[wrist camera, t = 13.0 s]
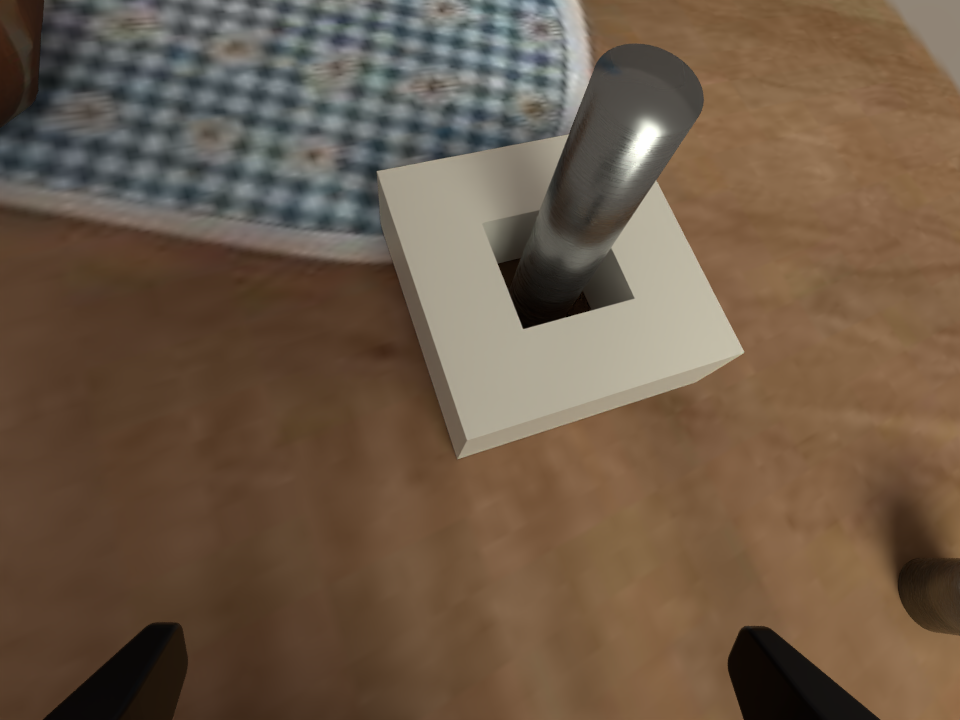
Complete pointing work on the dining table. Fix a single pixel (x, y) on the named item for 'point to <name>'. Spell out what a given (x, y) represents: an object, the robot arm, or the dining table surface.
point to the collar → (550, 346)
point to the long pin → (604, 173)
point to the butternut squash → (19, 55)
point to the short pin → (932, 593)
